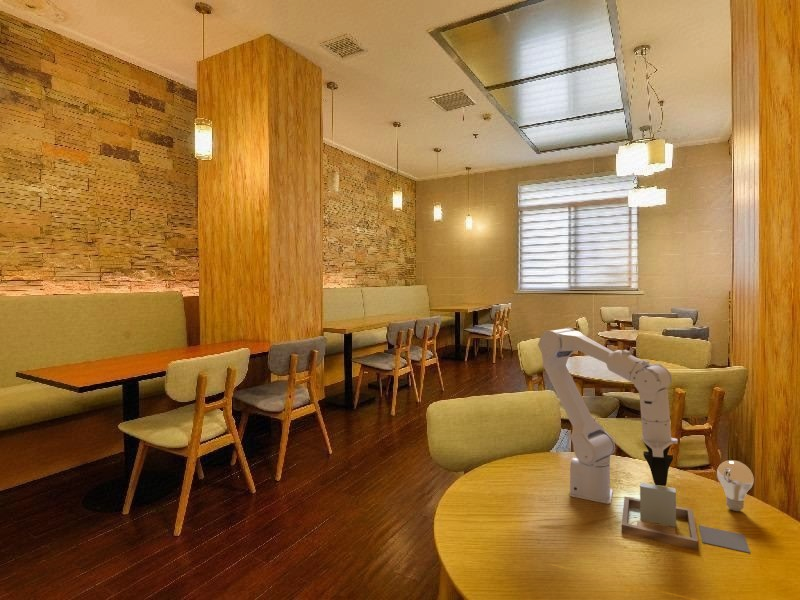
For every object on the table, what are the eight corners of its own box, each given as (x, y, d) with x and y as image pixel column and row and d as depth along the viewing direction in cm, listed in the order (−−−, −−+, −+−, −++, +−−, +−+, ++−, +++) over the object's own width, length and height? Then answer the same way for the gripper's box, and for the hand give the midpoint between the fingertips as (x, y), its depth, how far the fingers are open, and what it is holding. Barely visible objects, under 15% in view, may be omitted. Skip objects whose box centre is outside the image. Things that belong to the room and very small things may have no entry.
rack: (621, 533, 97) (621, 524, 97) (624, 504, 109) (624, 496, 109) (698, 551, 90) (698, 541, 90) (692, 517, 102) (692, 509, 102)
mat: (702, 543, 93) (702, 541, 93) (699, 526, 99) (699, 525, 99) (750, 553, 89) (750, 552, 89) (743, 535, 95) (743, 534, 95)
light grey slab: (640, 520, 102) (640, 486, 102) (640, 515, 104) (640, 482, 104) (675, 527, 99) (675, 492, 98) (675, 522, 101) (675, 488, 100)
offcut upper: (638, 532, 97) (638, 528, 97) (637, 525, 100) (637, 520, 100) (676, 540, 94) (676, 536, 94) (674, 532, 97) (674, 527, 97)
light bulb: (760, 519, 101) (760, 468, 100) (725, 517, 102) (726, 466, 102) (743, 504, 108) (743, 456, 107) (711, 502, 109) (711, 454, 108)
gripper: (677, 429, 93) (682, 493, 93) (674, 412, 105) (678, 469, 105) (639, 426, 96) (644, 489, 96) (640, 410, 109) (644, 465, 109)
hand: (659, 478), depth 101 cm, fingers open, 7 cm apart
